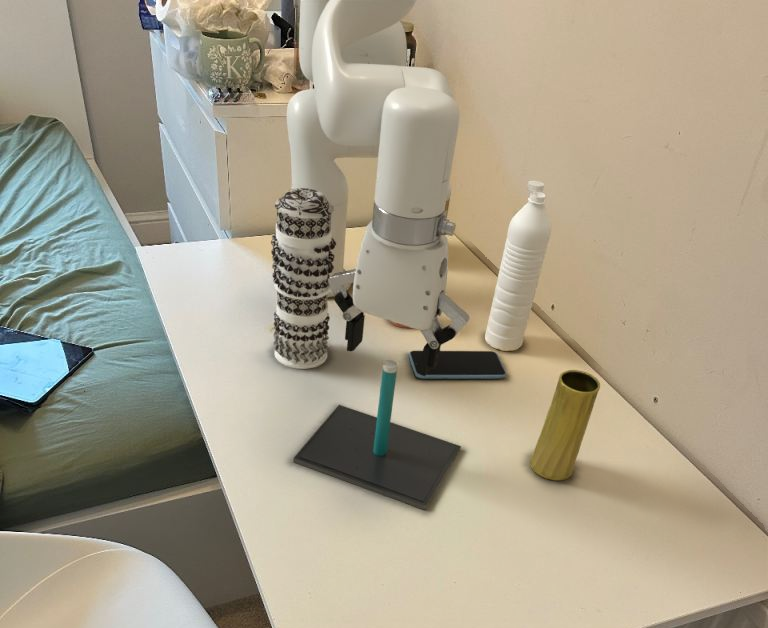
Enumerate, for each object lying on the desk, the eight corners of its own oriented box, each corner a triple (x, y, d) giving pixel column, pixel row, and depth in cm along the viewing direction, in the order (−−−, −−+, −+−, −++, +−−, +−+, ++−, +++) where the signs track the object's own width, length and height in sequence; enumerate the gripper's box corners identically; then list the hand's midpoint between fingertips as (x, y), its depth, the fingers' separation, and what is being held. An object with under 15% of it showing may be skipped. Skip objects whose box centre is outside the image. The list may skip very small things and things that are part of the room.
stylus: (371, 453, 100) (381, 365, 90) (376, 446, 101) (386, 358, 91) (383, 457, 99) (394, 369, 90) (388, 450, 101) (400, 362, 91)
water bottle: (523, 354, 124) (562, 204, 107) (484, 349, 124) (518, 198, 107) (519, 327, 130) (556, 182, 113) (483, 323, 130) (514, 177, 113)
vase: (525, 452, 105) (551, 366, 95) (566, 453, 105) (596, 368, 95) (534, 480, 100) (562, 394, 90) (577, 481, 101) (610, 396, 91)
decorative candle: (321, 336, 122) (328, 181, 104) (336, 367, 115) (346, 207, 98) (266, 340, 119) (264, 182, 102) (278, 372, 113) (278, 209, 96)
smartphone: (508, 375, 117) (416, 375, 114) (507, 379, 118) (415, 379, 115) (496, 349, 122) (408, 349, 119) (494, 354, 123) (407, 353, 120)
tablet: (293, 462, 98) (293, 457, 97) (338, 408, 108) (339, 403, 107) (425, 510, 94) (426, 505, 93) (460, 449, 103) (461, 445, 103)
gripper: (494, 230, 79) (465, 364, 91) (349, 189, 83) (340, 324, 95) (472, 256, 74) (445, 395, 86) (319, 212, 78) (313, 351, 90)
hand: (390, 358), depth 90 cm, fingers open, 9 cm apart
